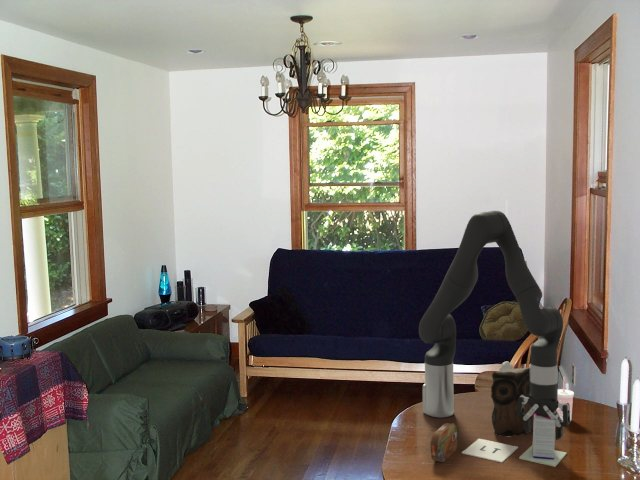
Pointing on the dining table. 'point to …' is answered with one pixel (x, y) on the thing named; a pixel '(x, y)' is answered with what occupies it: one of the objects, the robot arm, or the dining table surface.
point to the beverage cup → (565, 399)
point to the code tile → (490, 450)
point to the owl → (509, 401)
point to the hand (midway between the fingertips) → (543, 435)
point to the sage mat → (557, 458)
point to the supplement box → (543, 437)
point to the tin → (444, 442)
